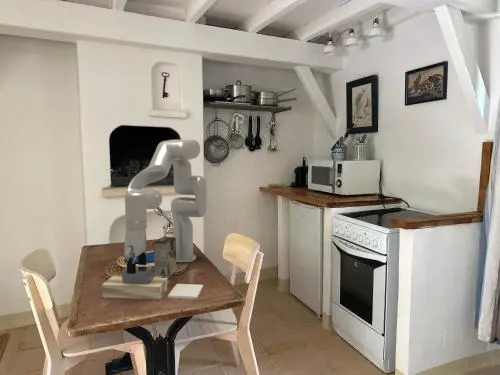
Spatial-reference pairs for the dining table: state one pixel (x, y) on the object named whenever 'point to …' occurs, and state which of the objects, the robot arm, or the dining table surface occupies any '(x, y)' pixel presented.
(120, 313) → the dining table surface
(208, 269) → the dining table surface
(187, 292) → the tile
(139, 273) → the grey metal block
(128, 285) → the body
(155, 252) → the coffee box
